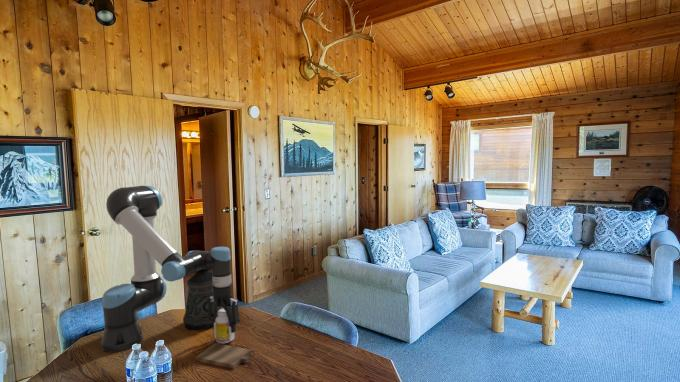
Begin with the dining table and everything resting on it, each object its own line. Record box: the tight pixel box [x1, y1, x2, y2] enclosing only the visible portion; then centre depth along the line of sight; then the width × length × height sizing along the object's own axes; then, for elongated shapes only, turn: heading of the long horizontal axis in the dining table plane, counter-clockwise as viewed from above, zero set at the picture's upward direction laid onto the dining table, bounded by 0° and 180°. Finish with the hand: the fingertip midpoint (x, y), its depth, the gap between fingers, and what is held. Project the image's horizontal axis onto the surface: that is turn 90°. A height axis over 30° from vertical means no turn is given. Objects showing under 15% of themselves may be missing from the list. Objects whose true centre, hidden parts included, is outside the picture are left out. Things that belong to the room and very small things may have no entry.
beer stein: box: [182, 270, 216, 332], centre depth 171 cm, size 16×19×25 cm
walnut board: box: [195, 342, 252, 369], centre depth 140 cm, size 19×11×2 cm, turn 70°
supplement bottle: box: [215, 308, 231, 345], centre depth 153 cm, size 7×7×13 cm
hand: (224, 338), depth 154 cm, fingers closed on supplement bottle, 7 cm apart
